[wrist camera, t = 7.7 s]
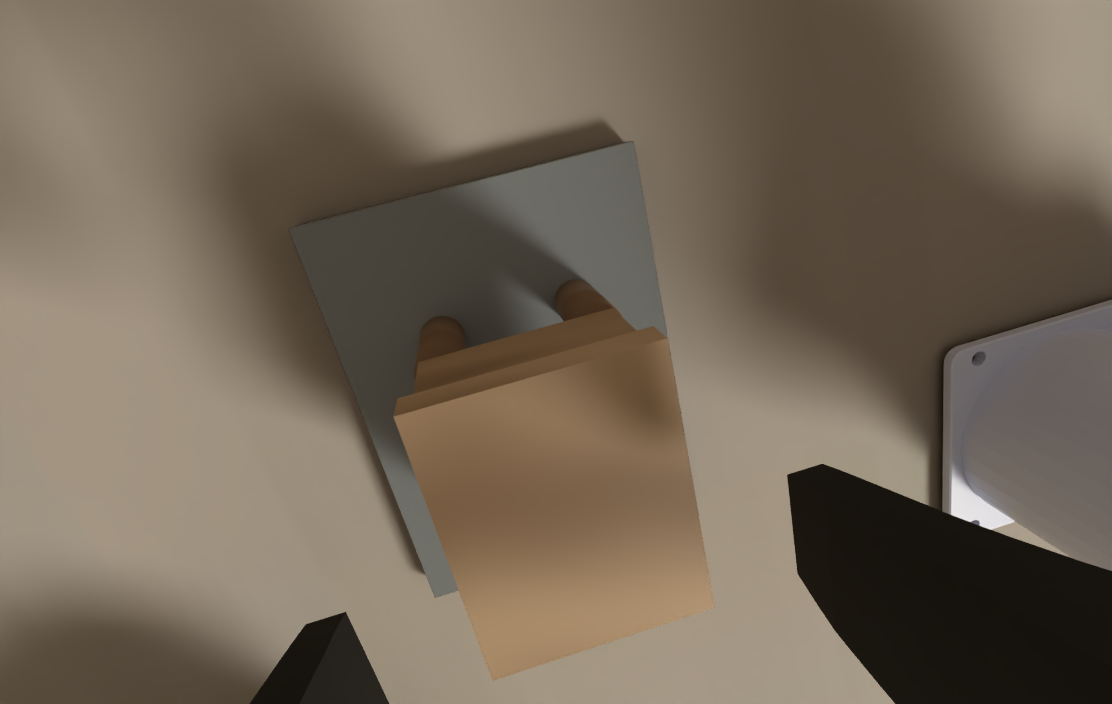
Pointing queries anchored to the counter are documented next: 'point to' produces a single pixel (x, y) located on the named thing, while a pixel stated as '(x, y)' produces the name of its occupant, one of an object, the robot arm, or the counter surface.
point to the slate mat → (473, 283)
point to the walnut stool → (557, 480)
